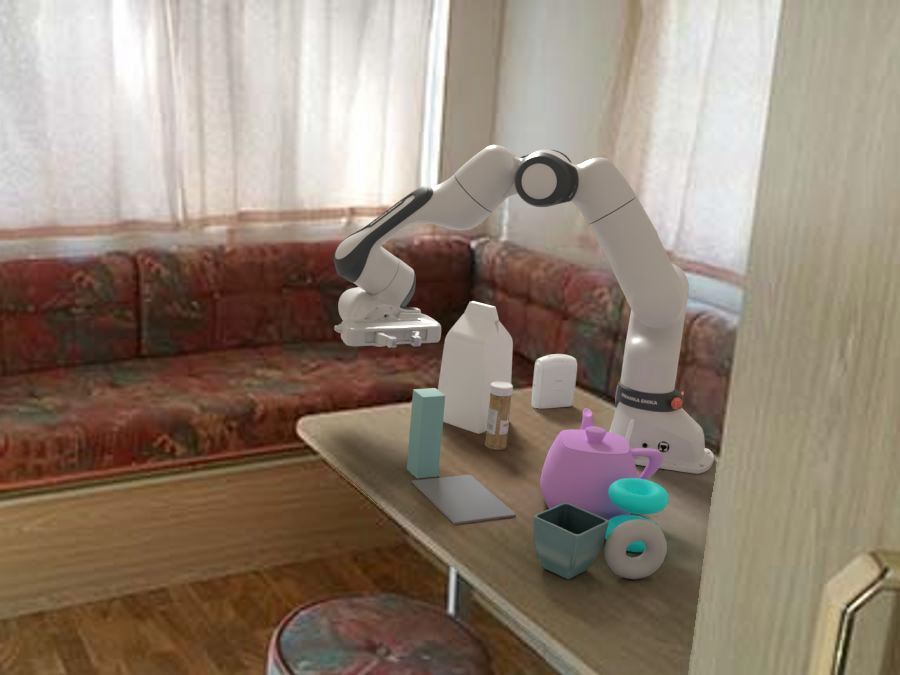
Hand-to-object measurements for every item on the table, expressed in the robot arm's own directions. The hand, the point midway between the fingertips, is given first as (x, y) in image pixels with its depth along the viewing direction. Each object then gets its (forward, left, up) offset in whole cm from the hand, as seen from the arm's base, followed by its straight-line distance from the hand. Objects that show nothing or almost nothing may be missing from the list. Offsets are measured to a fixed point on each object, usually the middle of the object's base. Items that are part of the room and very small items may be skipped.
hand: (405, 343), depth 206 cm
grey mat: (-20, +15, -22) cm, 33 cm away
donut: (-54, +28, -22) cm, 65 cm away
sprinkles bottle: (-16, -13, -22) cm, 30 cm away
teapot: (-40, +5, -22) cm, 46 cm away
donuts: (-51, +15, -22) cm, 58 cm away
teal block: (-9, +8, -22) cm, 25 cm away
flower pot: (-44, +31, -22) cm, 58 cm away
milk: (-6, -25, -22) cm, 34 cm away
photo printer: (-18, -45, -22) cm, 53 cm away
